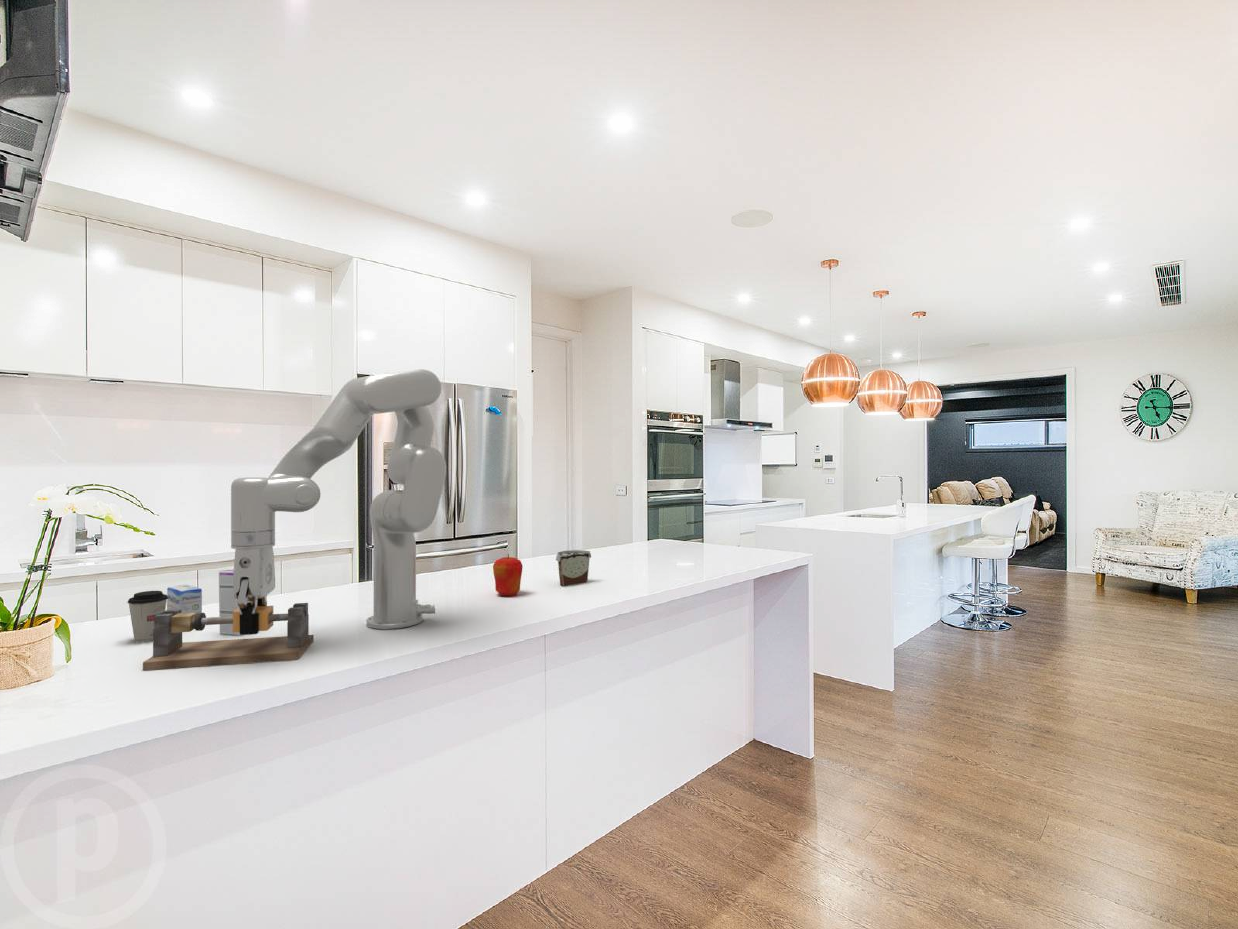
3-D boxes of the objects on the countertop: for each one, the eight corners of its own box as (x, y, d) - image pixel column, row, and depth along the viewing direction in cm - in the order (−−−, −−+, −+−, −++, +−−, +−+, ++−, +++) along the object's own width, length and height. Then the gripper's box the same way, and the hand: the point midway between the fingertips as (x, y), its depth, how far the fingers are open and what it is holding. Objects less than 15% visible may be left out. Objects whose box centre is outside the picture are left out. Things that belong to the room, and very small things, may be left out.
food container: (579, 579, 197) (579, 548, 197) (591, 582, 192) (591, 551, 192) (548, 584, 189) (548, 552, 189) (559, 587, 184) (559, 554, 184)
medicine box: (166, 623, 142) (166, 587, 142) (187, 619, 146) (187, 584, 146) (180, 629, 138) (180, 591, 138) (202, 624, 142) (202, 587, 142)
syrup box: (240, 636, 133) (240, 570, 133) (218, 634, 134) (218, 569, 134) (261, 629, 138) (261, 565, 138) (239, 627, 139) (239, 564, 139)
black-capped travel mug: (118, 643, 127) (118, 596, 127) (148, 634, 134) (148, 589, 134) (147, 645, 126) (147, 597, 126) (176, 635, 133) (176, 590, 133)
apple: (488, 593, 175) (488, 553, 175) (515, 590, 180) (515, 550, 180) (499, 599, 168) (499, 557, 168) (527, 595, 173) (527, 554, 173)
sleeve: (273, 625, 123) (273, 605, 123) (267, 630, 119) (267, 610, 119) (240, 627, 122) (240, 607, 122) (232, 632, 118) (232, 612, 118)
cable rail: (313, 641, 129) (313, 599, 129) (298, 659, 117) (298, 613, 117) (173, 650, 122) (173, 605, 122) (142, 670, 111) (142, 621, 111)
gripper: (260, 544, 113) (260, 641, 113) (286, 533, 129) (286, 619, 130) (215, 545, 111) (215, 644, 111) (247, 534, 128) (247, 621, 128)
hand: (253, 629), depth 121 cm, fingers closed on sleeve, 4 cm apart
